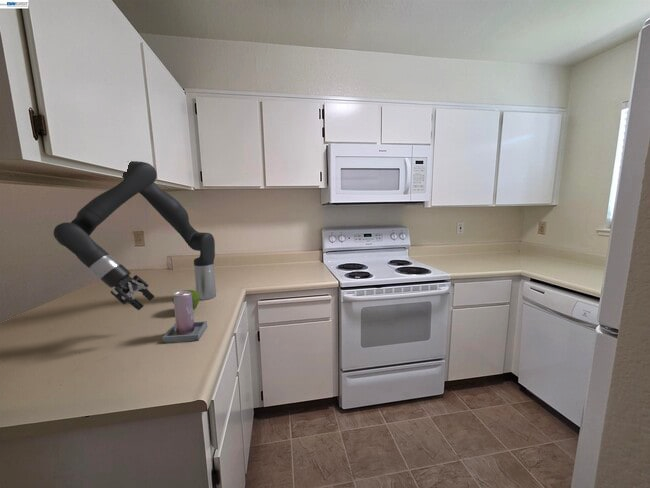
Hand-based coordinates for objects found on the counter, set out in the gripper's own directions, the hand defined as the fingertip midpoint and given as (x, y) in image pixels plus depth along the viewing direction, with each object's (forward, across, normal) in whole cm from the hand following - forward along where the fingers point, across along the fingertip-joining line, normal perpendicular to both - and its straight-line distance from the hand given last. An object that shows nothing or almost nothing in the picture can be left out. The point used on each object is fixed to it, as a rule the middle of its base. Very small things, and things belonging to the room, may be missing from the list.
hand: (147, 303), depth 100 cm
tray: (+18, -2, -2) cm, 18 cm away
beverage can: (+17, -2, -2) cm, 17 cm away
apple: (+14, +21, +4) cm, 26 cm away
